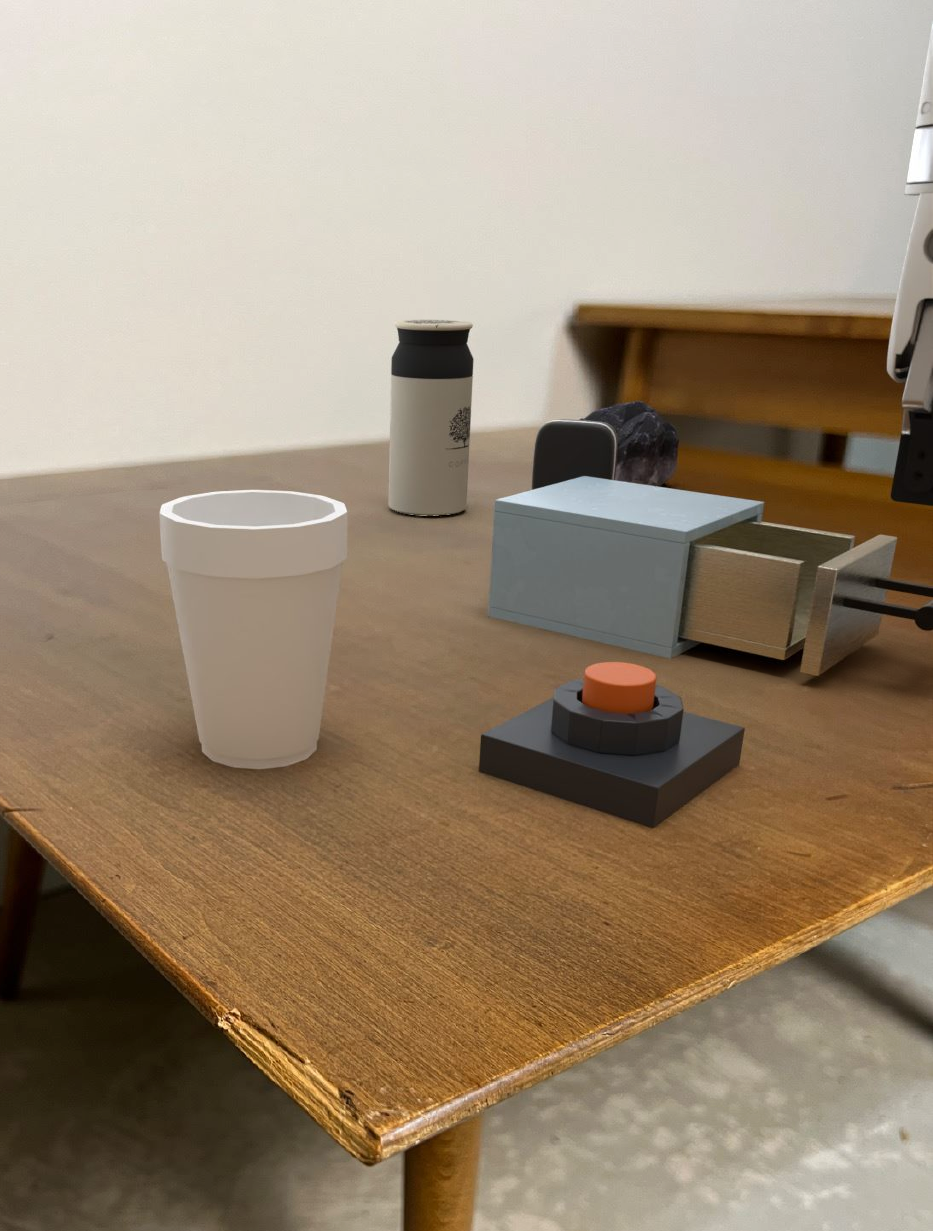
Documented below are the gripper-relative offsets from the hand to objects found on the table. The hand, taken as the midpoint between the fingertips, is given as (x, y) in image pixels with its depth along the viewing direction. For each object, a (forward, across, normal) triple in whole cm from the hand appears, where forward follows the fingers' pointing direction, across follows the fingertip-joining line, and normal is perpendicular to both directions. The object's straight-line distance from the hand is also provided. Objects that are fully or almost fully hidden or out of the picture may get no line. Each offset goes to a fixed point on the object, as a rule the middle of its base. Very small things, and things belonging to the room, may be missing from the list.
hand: (920, 500), depth 73 cm
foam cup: (+11, -35, +22) cm, 43 cm away
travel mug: (+11, +21, +52) cm, 57 cm away
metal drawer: (+10, 0, +6) cm, 12 cm away
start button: (+7, -25, +6) cm, 27 cm away
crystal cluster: (+11, +47, +45) cm, 66 cm away
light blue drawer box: (+11, 0, +19) cm, 22 cm away
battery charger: (+11, +15, +32) cm, 37 cm away
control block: (+11, -26, +6) cm, 28 cm away
